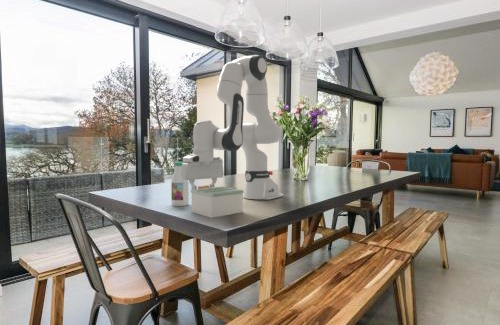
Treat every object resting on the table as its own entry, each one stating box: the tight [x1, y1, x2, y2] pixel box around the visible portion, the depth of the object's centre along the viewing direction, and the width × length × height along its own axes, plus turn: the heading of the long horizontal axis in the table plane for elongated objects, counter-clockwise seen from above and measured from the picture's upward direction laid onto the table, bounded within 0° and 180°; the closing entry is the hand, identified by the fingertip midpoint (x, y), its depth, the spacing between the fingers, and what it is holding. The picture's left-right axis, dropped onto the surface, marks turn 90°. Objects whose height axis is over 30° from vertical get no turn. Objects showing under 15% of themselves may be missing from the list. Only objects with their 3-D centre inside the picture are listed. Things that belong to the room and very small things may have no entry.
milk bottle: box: [170, 161, 190, 207], centre depth 151 cm, size 8×8×20 cm
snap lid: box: [190, 184, 245, 197], centre depth 137 cm, size 16×19×2 cm
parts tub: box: [191, 193, 244, 219], centre depth 136 cm, size 16×14×8 cm
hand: (203, 189), depth 143 cm, fingers open, 8 cm apart
